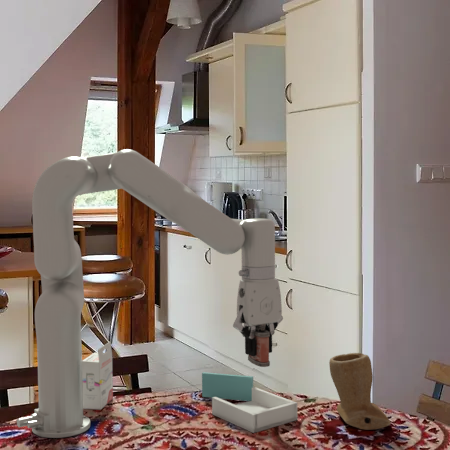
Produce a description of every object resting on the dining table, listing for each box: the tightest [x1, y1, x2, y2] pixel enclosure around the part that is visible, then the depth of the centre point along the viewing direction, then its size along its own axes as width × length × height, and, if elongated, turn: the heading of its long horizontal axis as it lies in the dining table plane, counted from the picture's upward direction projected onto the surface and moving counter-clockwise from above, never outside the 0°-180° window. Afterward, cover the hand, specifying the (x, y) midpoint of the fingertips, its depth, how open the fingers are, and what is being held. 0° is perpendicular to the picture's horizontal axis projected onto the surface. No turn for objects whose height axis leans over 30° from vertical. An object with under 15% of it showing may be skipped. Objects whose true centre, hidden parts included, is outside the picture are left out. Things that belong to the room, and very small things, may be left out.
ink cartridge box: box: [82, 341, 114, 410], centre depth 169 cm, size 9×5×15 cm, turn 168°
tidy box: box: [211, 386, 298, 434], centre depth 159 cm, size 13×15×4 cm
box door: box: [201, 371, 254, 402], centre depth 172 cm, size 13×1×6 cm, turn 73°
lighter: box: [247, 324, 271, 368], centre depth 157 cm, size 8×3×10 cm, turn 22°
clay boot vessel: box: [328, 352, 391, 431], centre depth 157 cm, size 15×12×15 cm
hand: (258, 352), depth 157 cm, fingers closed on lighter, 4 cm apart
